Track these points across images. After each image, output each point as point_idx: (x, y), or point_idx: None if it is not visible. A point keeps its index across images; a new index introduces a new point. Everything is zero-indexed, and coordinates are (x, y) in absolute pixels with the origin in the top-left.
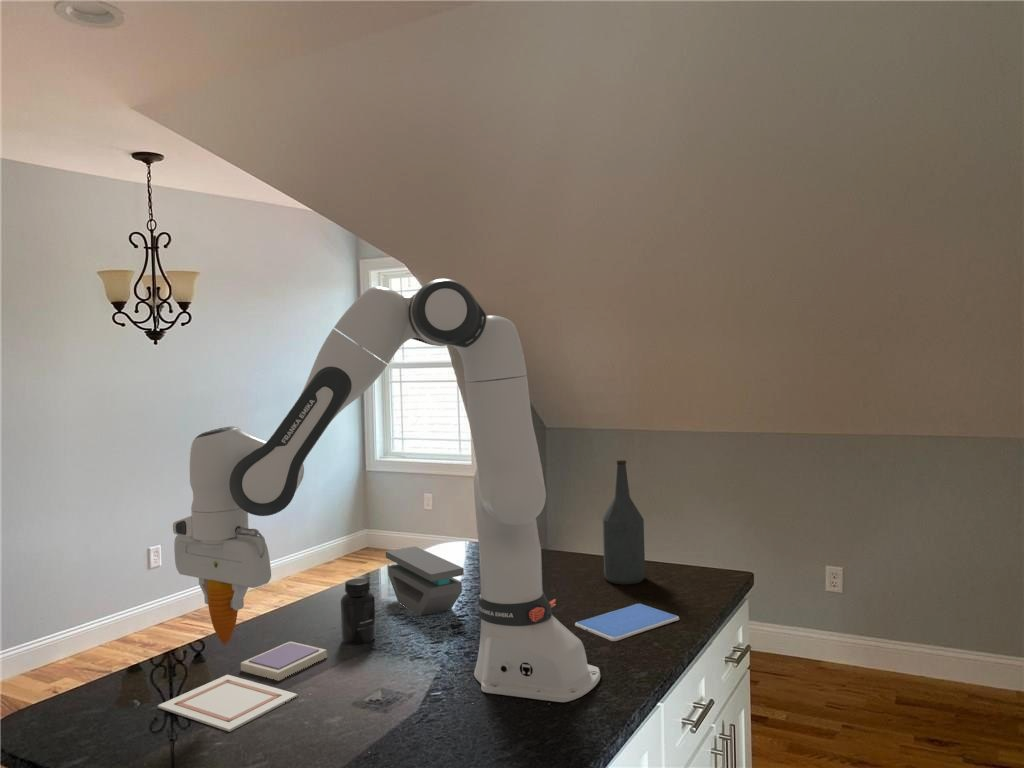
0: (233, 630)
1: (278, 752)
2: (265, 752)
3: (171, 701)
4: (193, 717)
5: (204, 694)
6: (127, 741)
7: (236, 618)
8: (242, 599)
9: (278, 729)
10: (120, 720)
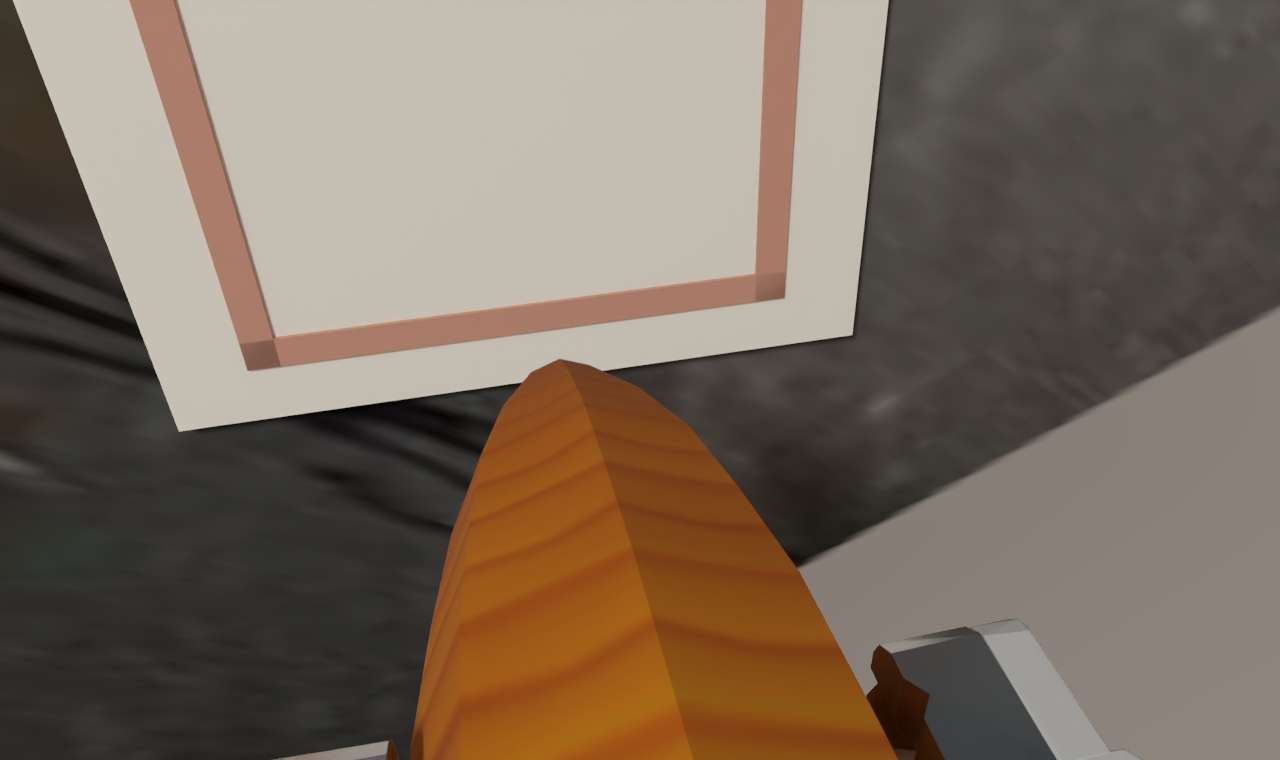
0: (652, 398)
1: (1212, 295)
2: (1153, 328)
3: (189, 362)
4: None
5: (257, 181)
6: None
7: (719, 465)
8: (1084, 734)
9: (1081, 163)
10: (190, 582)
